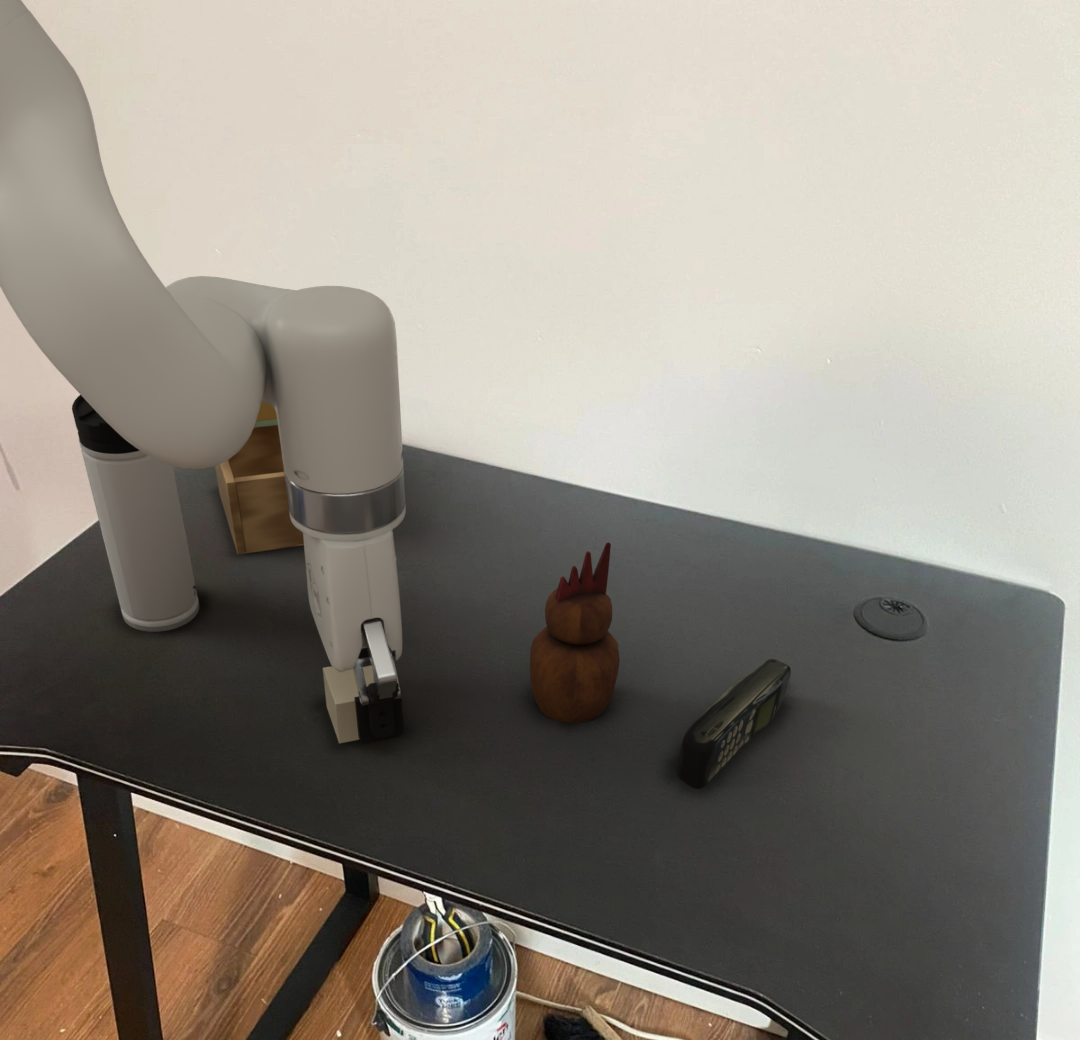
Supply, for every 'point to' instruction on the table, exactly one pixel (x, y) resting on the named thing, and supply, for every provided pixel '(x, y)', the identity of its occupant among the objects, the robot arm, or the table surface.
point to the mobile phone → (732, 722)
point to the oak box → (257, 495)
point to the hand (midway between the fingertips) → (365, 696)
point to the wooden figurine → (576, 647)
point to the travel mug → (138, 526)
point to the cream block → (343, 700)
